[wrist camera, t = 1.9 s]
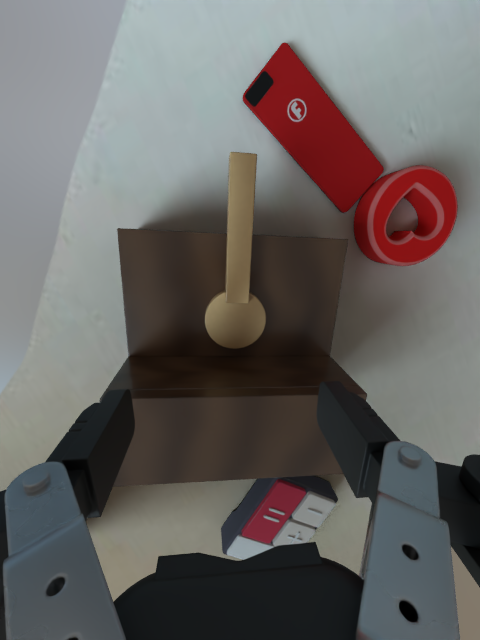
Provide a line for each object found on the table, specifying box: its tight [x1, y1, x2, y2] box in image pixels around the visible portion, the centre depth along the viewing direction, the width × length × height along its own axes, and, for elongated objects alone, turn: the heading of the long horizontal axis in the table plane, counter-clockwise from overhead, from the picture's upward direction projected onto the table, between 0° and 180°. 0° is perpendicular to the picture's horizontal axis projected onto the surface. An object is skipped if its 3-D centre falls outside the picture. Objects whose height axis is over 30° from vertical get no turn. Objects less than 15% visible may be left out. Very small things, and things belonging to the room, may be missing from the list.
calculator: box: [221, 475, 338, 560], centre depth 40 cm, size 11×4×15 cm
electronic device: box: [243, 43, 384, 213], centre depth 26 cm, size 6×1×15 cm
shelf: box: [100, 228, 367, 487], centre depth 25 cm, size 20×20×13 cm
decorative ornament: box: [354, 165, 458, 266], centre depth 29 cm, size 10×10×3 cm
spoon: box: [205, 152, 266, 349], centre depth 23 cm, size 6×16×2 cm, turn 178°
